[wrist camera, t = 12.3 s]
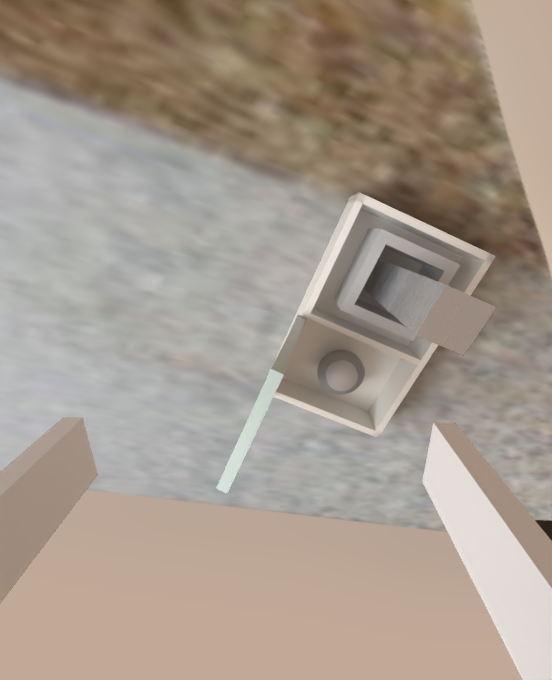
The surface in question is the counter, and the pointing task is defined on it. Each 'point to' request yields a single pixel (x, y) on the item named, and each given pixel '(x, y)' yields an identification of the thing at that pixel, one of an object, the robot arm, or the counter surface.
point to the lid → (261, 405)
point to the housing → (369, 316)
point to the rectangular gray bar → (429, 306)
